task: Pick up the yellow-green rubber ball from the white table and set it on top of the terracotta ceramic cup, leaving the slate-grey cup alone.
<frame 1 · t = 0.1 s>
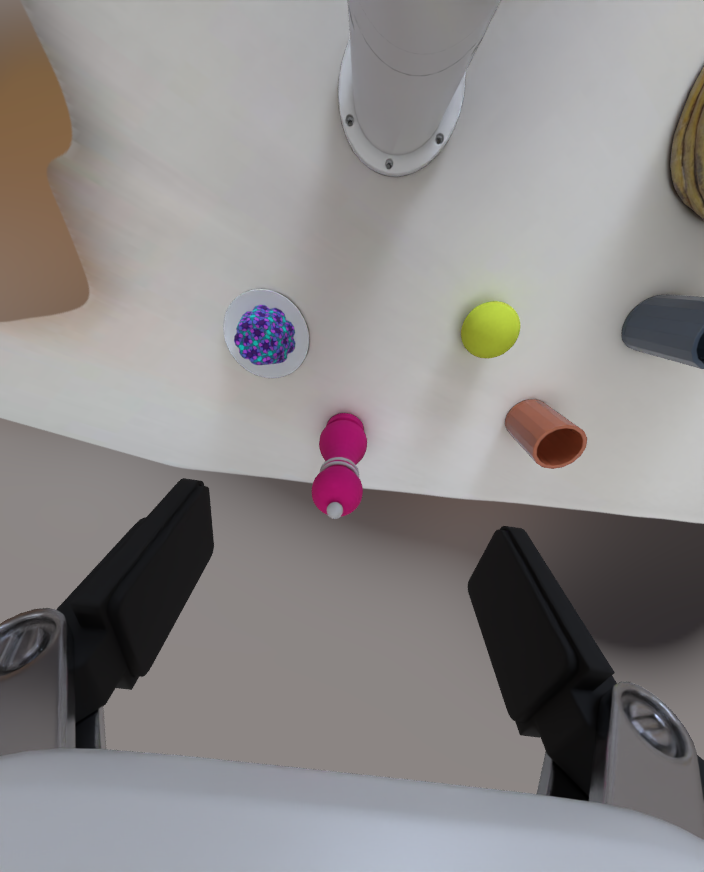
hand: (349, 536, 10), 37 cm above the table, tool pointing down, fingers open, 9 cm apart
pudding: (268, 335, 43), on the table
terracotta cup: (526, 418, 47), on the table
ball: (489, 330, 38), point 3 cm above the table
grey cup: (650, 323, 40), on the table
pepper mill: (344, 429, 49), on the table
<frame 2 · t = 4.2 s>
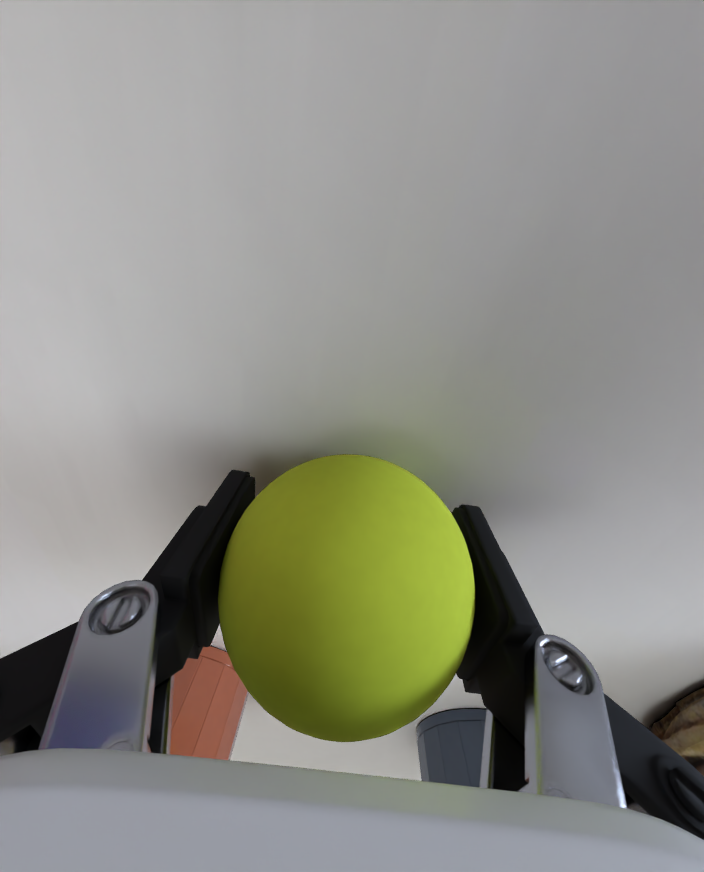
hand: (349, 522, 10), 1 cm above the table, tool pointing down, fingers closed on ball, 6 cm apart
terracotta cup: (198, 671, 19), on the table
ball: (347, 572, 9), point 3 cm above the table, touching gripper
grey cup: (466, 730, 21), on the table
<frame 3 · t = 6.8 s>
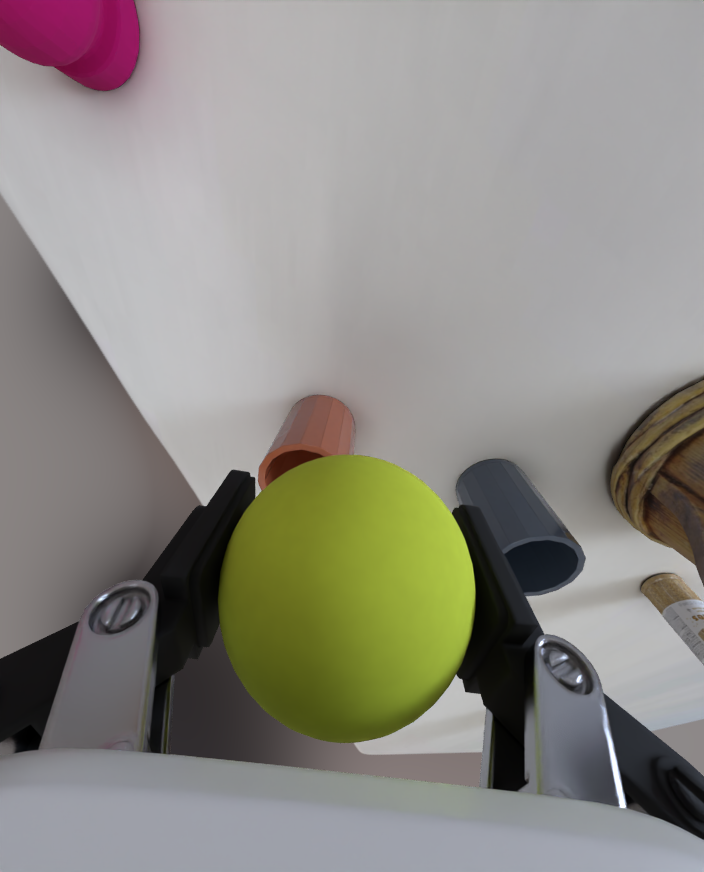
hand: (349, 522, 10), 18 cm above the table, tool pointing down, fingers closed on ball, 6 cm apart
terracotta cup: (321, 426, 29), on the table
ball: (347, 573, 9), point 20 cm above the table, touching gripper
grey cup: (489, 486, 32), on the table
pepper mill: (87, 16, 17), on the table
tankard: (681, 454, 29), on the table
sprinkles bottle: (657, 582, 38), on the table
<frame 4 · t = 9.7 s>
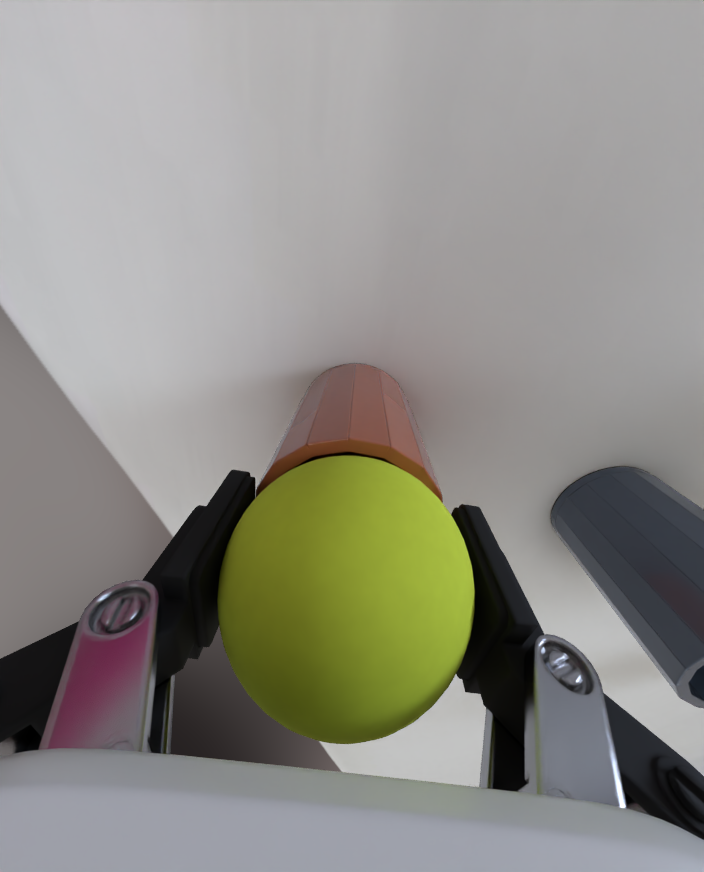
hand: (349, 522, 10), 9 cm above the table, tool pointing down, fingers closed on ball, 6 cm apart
terracotta cup: (354, 416, 18), on the table
ball: (347, 574, 9), point 11 cm above the table, touching gripper
grey cup: (603, 507, 21), on the table
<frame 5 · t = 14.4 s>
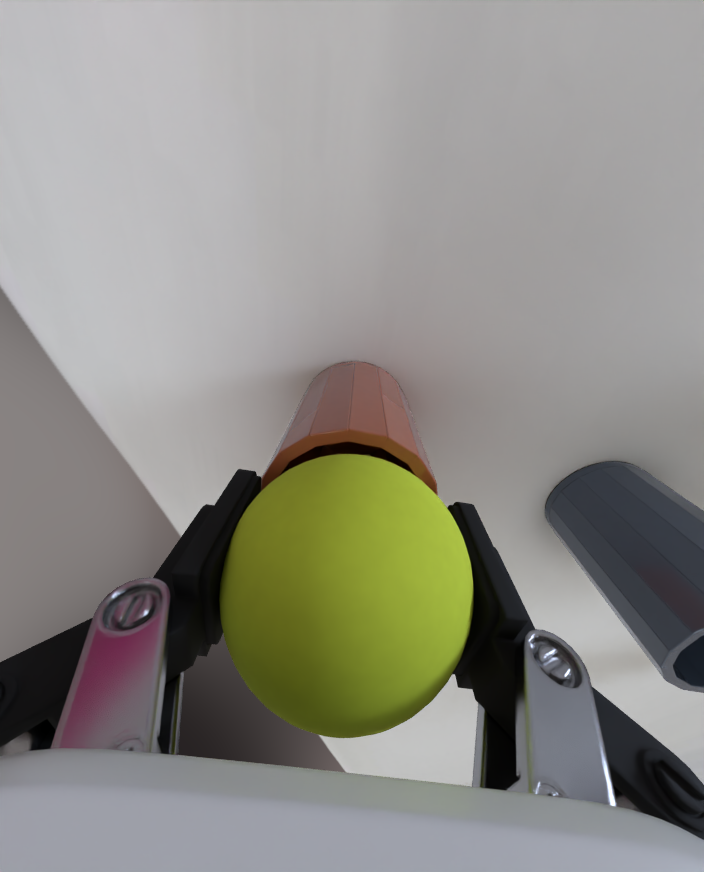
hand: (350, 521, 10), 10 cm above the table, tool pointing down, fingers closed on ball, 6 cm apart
terracotta cup: (354, 412, 19), on the table
ball: (347, 571, 9), point 12 cm above the table, touching gripper
grey cup: (595, 501, 22), on the table
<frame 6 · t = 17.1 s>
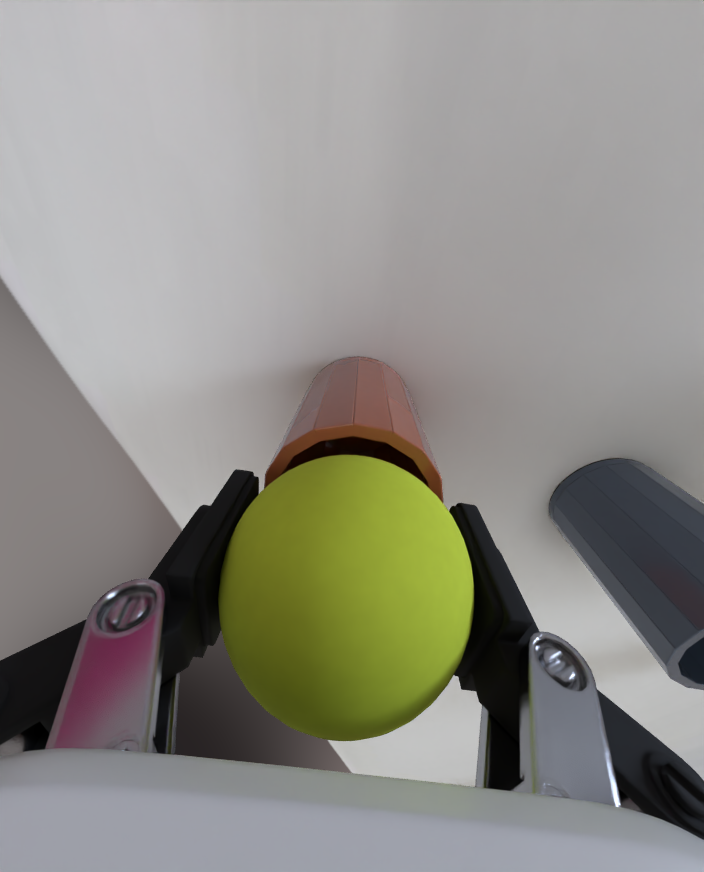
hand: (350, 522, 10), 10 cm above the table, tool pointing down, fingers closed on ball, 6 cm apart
terracotta cup: (357, 408, 19), on the table
ball: (347, 572, 9), point 12 cm above the table, touching gripper
grey cup: (600, 499, 22), on the table
when the fingers open (10 cm above the table, at t = 19.1 s): ball drops 1 cm, resting on terracotta cup.
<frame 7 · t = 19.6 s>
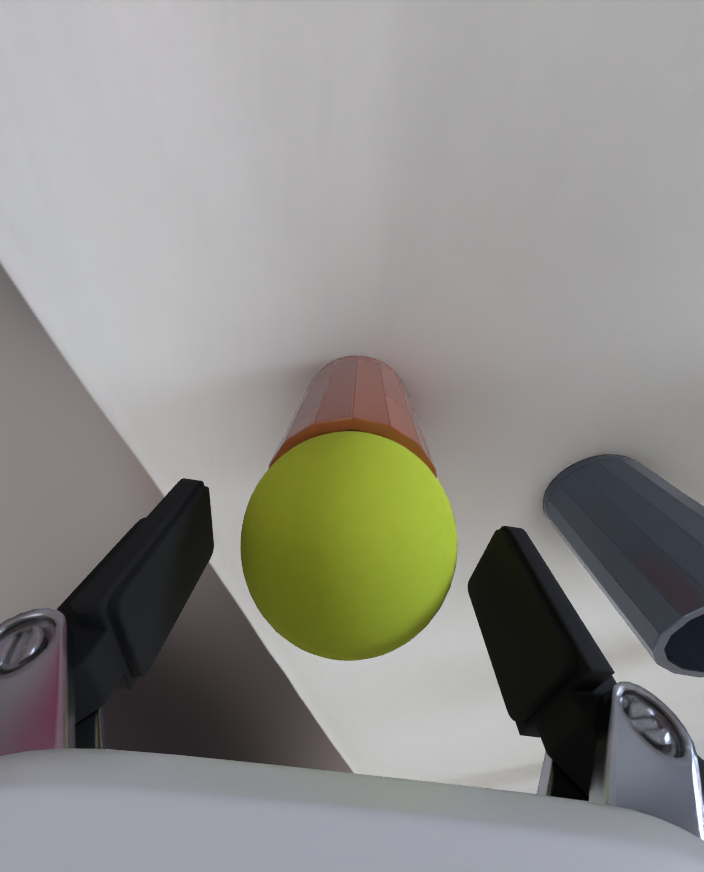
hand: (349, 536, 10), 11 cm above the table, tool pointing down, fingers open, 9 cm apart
terracotta cup: (356, 406, 20), on the table, touching ball
ball: (349, 533, 10), point 11 cm above the table, touching terracotta cup
grey cup: (592, 494, 22), on the table
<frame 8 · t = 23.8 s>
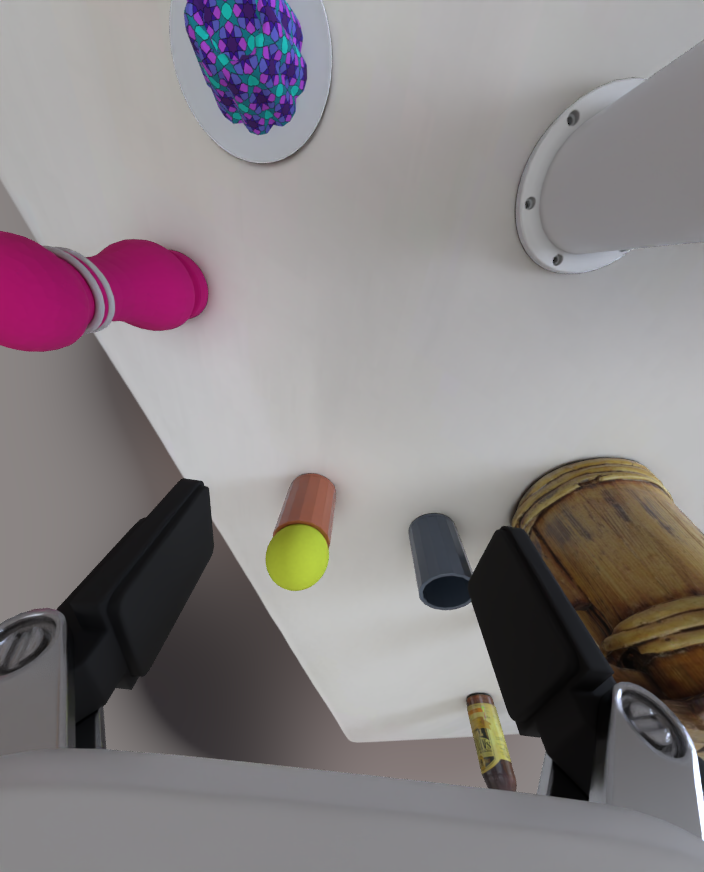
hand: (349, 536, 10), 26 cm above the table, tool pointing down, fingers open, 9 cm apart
pudding: (255, 65, 23), on the table
terracotta cup: (312, 492, 42), on the table, touching ball
ball: (297, 555, 33), point 11 cm above the table, touching terracotta cup
sauce bottle: (478, 697, 70), on the table
grey cup: (431, 530, 45), on the table
pepper mill: (179, 286, 31), on the table
tankard: (559, 510, 43), on the table
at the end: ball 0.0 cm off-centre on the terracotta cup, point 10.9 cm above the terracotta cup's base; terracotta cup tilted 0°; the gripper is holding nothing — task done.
